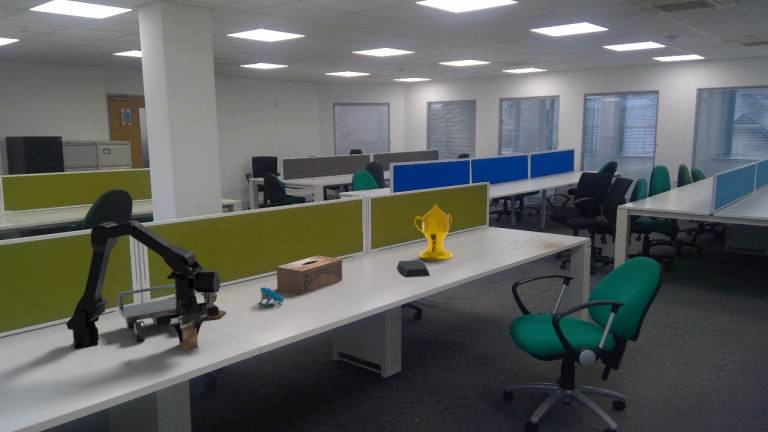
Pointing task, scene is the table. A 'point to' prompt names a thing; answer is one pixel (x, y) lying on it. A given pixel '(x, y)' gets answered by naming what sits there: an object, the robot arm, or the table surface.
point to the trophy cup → (435, 233)
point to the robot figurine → (211, 299)
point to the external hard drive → (413, 268)
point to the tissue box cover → (309, 274)
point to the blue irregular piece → (270, 296)
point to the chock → (188, 336)
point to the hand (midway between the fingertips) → (188, 340)
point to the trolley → (145, 311)
